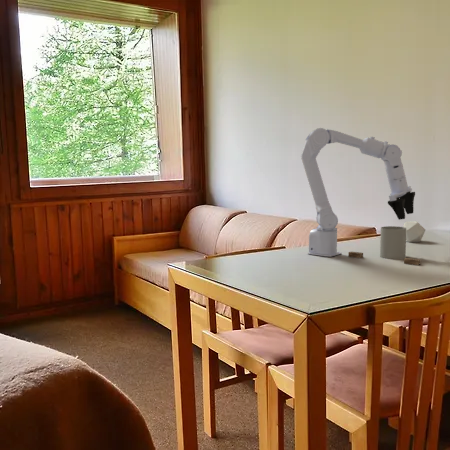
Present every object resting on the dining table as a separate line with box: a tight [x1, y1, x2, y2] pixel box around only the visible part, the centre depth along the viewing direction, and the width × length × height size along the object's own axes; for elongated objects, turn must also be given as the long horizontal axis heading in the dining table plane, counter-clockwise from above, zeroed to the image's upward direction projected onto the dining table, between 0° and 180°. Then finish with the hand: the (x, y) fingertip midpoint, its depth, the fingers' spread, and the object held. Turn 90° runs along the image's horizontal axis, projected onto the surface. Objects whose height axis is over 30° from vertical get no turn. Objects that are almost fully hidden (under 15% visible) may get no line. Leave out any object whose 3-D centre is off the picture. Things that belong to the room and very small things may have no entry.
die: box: [402, 220, 426, 243], centre depth 204 cm, size 8×9×10 cm
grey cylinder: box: [379, 225, 407, 260], centre depth 172 cm, size 8×8×10 cm
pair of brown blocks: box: [348, 251, 421, 266], centre depth 167 cm, size 24×2×2 cm, turn 49°
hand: (406, 216), depth 175 cm, fingers open, 7 cm apart
